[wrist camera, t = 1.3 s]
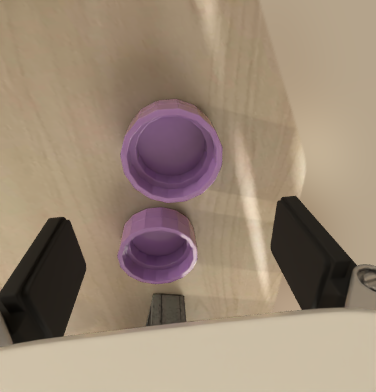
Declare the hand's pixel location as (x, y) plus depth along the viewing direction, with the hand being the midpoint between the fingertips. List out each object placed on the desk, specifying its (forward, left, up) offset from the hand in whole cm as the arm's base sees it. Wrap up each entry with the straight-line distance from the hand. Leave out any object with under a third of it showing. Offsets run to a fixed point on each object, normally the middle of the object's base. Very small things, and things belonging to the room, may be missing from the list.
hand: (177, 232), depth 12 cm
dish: (+8, -2, -10) cm, 13 cm away
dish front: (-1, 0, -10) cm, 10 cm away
